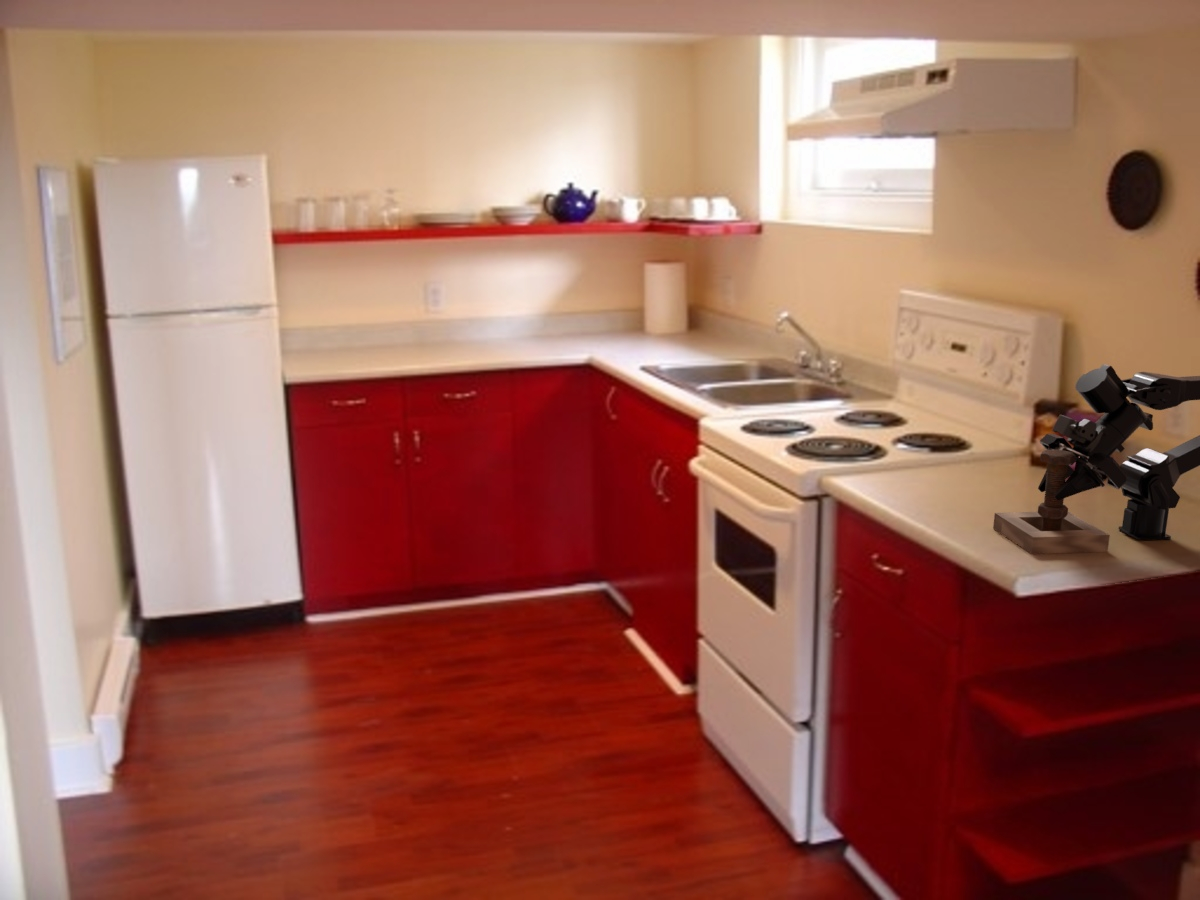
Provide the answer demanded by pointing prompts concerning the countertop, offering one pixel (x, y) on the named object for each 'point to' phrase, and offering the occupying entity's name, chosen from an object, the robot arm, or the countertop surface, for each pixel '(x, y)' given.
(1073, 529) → the jig
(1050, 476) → the bolt
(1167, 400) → the robot arm
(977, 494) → the countertop surface
